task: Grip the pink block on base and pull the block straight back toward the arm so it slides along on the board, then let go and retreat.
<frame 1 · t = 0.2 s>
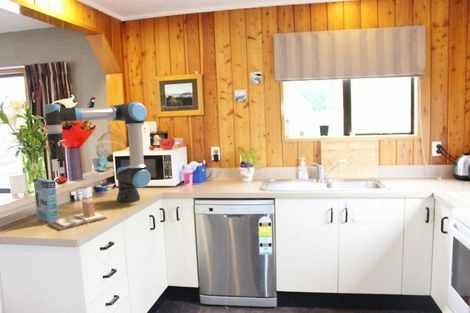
hand: (58, 172, 199), 27 cm above the worktop, fingers open, 13 cm apart
pink block on base: (88, 209, 203), point 6 cm above the worktop, slide at 0.0 cm
blue cereal box: (48, 220, 206), on the worktop
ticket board: (77, 222, 199), on the worktop
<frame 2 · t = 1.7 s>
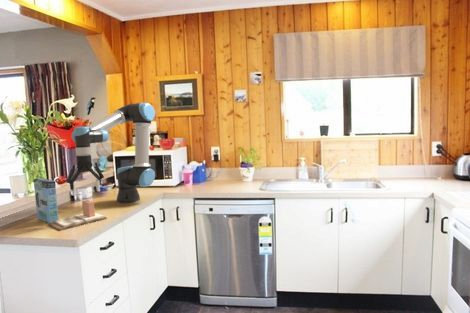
hand: (86, 193, 201), 15 cm above the worktop, fingers open, 13 cm apart
nothing on the worktop moved.
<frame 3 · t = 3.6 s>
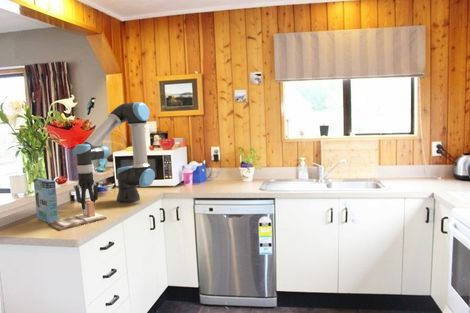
hand: (89, 213, 203), 3 cm above the worktop, fingers closed on pink block on base, 3 cm apart
pink block on base: (88, 209, 203), point 6 cm above the worktop, slide at 0.0 cm, touching gripper
everything else where it was.
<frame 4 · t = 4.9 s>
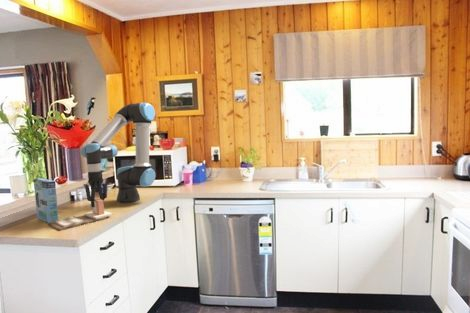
hand: (98, 211, 207), 3 cm above the worktop, fingers closed on pink block on base, 3 cm apart
pink block on base: (98, 207, 207), point 6 cm above the worktop, slide at 5.4 cm, touching gripper
everything else where it was.
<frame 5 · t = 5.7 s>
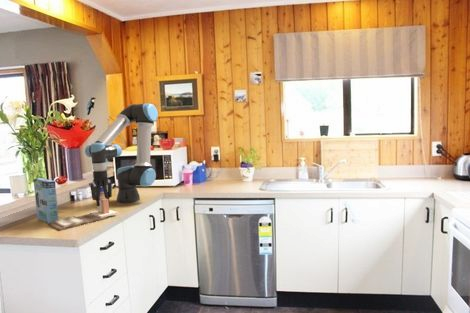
hand: (103, 210, 209), 3 cm above the worktop, fingers closed on pink block on base, 3 cm apart
pink block on base: (102, 206, 209), point 6 cm above the worktop, slide at 8.4 cm, touching gripper
everything else where it was.
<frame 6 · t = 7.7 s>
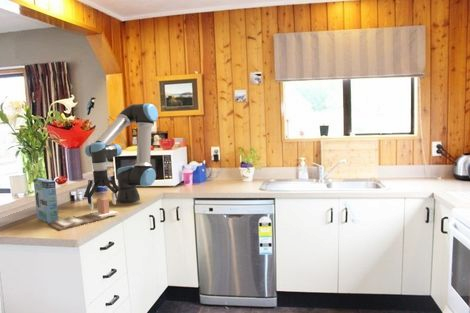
hand: (103, 206, 209), 5 cm above the worktop, fingers open, 13 cm apart
pink block on base: (103, 206, 209), point 6 cm above the worktop, slide at 8.5 cm
everything else where it was.
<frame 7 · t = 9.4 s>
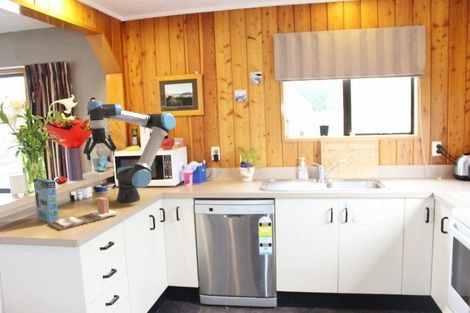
hand: (102, 163, 217), 29 cm above the worktop, fingers open, 13 cm apart
nothing on the worktop moved.
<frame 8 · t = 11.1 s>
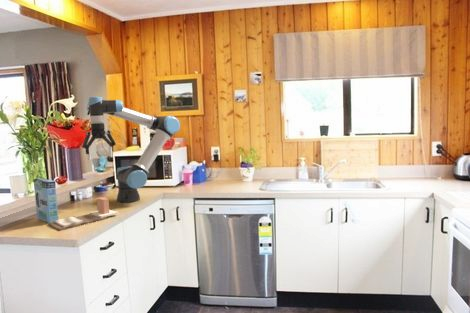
hand: (100, 158, 221), 32 cm above the worktop, fingers open, 13 cm apart
nothing on the worktop moved.
at the end: pink block on base slide at 8.5 cm; the gripper is holding nothing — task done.
